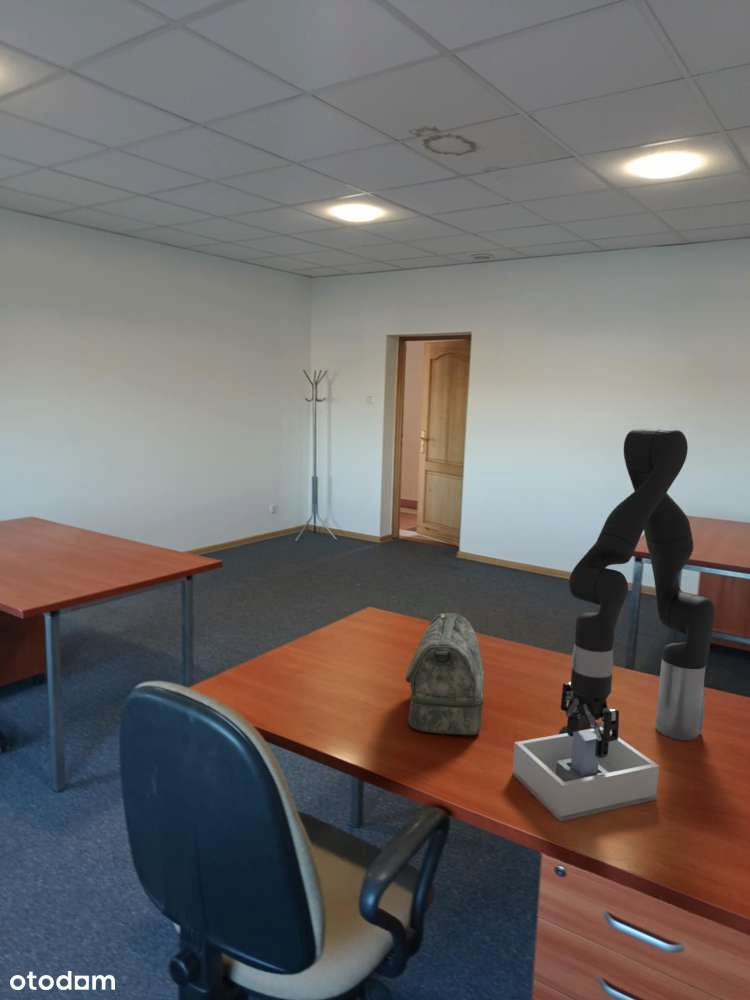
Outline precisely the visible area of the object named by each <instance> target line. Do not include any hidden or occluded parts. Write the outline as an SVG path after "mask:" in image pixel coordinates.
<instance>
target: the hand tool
mask: <svg viewBox="0 0 750 1000" xmlns="http://www.w3.org/2000/svg"><path fill="white" fill-rule="evenodd" d="M577 717H579V718H580V719H579V731H581V730H587V729H588V727H589V726H590V727H591V725H590V722H589V720H587V719H586V718H585V717H584V716H582V715H579V716H577ZM565 733H567V726H565V725H564V726H562V728H561V729H560V730H559V732H558V735H559V734H565Z"/></svg>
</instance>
